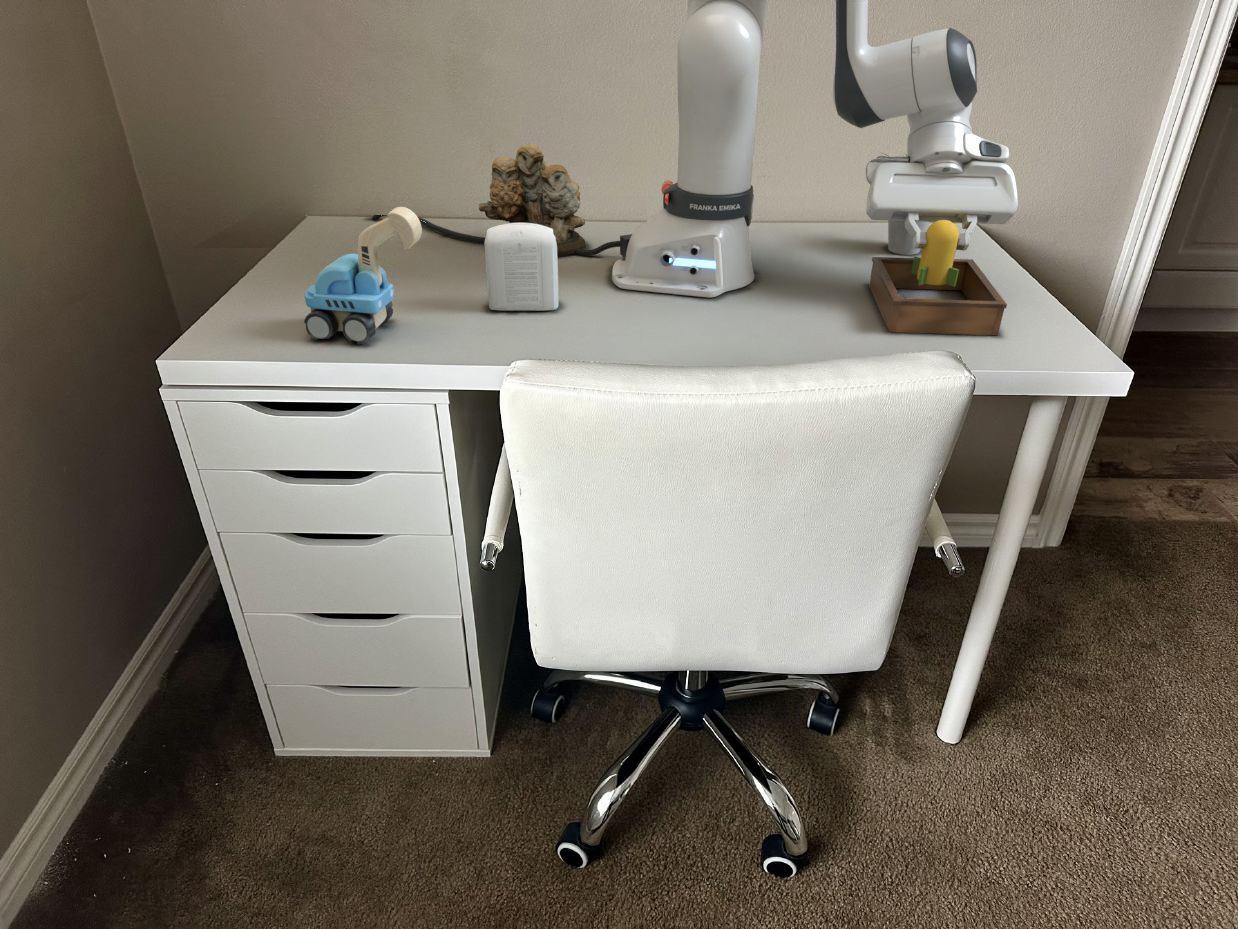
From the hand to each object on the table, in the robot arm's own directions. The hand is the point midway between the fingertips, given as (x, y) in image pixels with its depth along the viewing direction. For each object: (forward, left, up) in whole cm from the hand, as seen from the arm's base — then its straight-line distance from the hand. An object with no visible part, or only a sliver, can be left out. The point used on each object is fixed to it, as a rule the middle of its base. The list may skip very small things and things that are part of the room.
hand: (941, 247), depth 122 cm
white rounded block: (-59, -3, -10) cm, 60 cm away
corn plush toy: (0, +1, -5) cm, 5 cm away
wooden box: (0, +1, -9) cm, 9 cm away
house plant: (0, +28, -10) cm, 29 cm away
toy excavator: (-78, -14, -10) cm, 80 cm away
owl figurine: (-62, +24, -10) cm, 67 cm away
